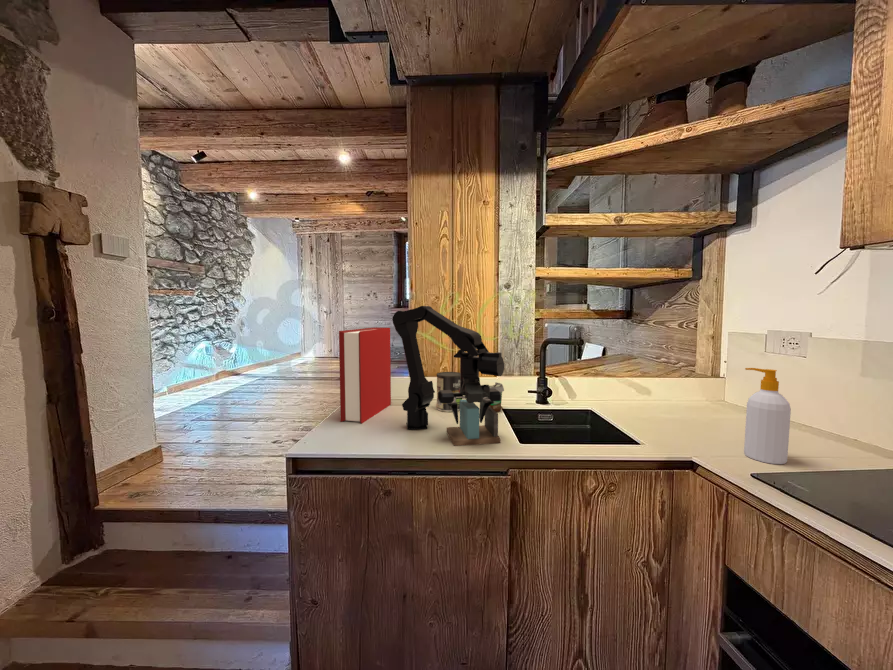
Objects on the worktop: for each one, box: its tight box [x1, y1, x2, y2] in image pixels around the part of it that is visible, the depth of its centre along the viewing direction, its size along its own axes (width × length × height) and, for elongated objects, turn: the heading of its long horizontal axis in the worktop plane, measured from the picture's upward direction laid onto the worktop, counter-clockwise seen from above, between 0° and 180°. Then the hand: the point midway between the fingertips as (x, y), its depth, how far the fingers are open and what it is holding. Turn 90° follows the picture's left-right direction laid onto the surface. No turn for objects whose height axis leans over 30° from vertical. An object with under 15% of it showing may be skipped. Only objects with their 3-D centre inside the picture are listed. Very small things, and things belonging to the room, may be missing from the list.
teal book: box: [459, 399, 480, 439], centre depth 109 cm, size 4×11×9 cm, turn 10°
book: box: [338, 326, 392, 424], centre depth 136 cm, size 27×8×32 cm, turn 166°
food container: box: [489, 382, 505, 413], centre depth 139 cm, size 12×6×10 cm, turn 143°
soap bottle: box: [743, 367, 792, 465], centre depth 94 cm, size 9×9×24 cm
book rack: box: [446, 406, 501, 447], centre depth 110 cm, size 14×12×8 cm
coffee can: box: [436, 371, 463, 413], centre depth 142 cm, size 10×10×14 cm
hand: (469, 423), depth 109 cm, fingers open, 7 cm apart
